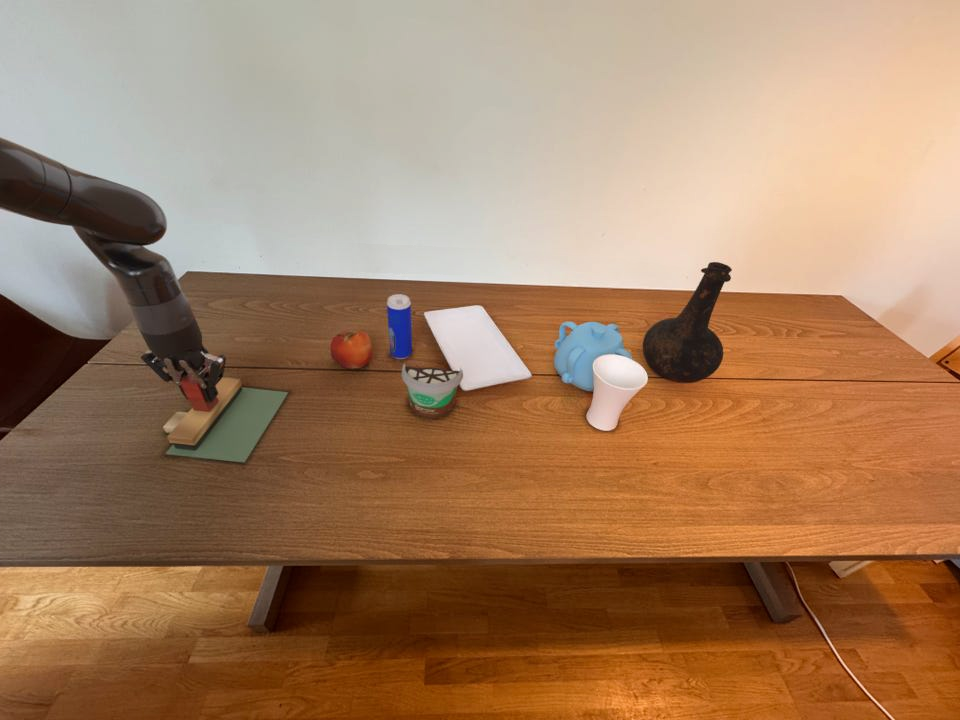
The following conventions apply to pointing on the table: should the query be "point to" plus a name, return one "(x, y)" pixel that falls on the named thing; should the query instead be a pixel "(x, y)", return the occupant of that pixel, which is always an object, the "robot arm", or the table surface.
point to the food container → (431, 390)
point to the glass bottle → (689, 334)
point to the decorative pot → (585, 351)
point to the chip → (174, 421)
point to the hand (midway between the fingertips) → (202, 397)
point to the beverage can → (399, 326)
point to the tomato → (351, 349)
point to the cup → (613, 388)
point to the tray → (475, 347)
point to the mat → (238, 427)
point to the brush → (202, 412)
